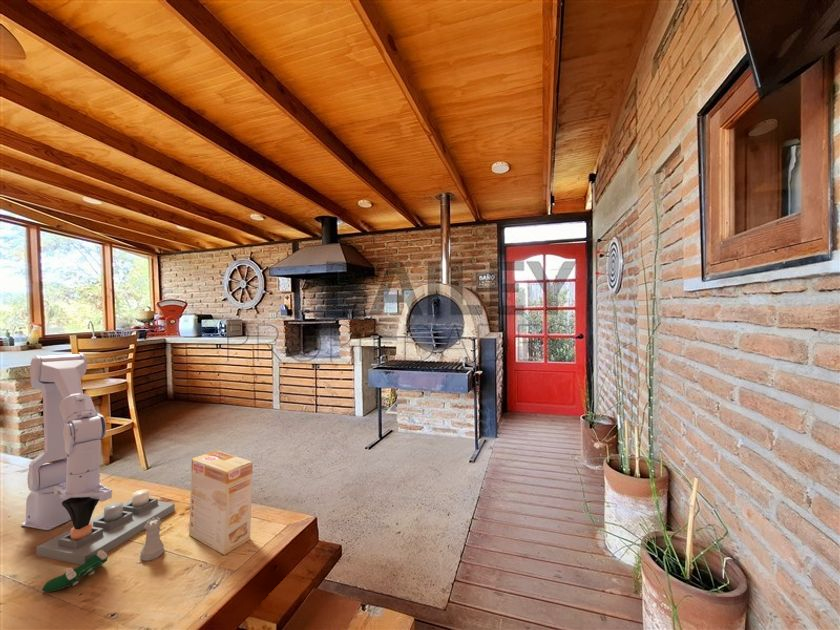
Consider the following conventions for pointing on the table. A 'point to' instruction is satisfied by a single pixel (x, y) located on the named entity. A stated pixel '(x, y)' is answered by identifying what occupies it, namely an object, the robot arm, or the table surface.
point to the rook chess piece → (152, 540)
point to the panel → (104, 533)
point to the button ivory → (140, 498)
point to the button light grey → (113, 512)
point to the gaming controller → (76, 573)
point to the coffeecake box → (221, 500)
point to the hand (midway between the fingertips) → (81, 526)
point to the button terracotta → (81, 532)
